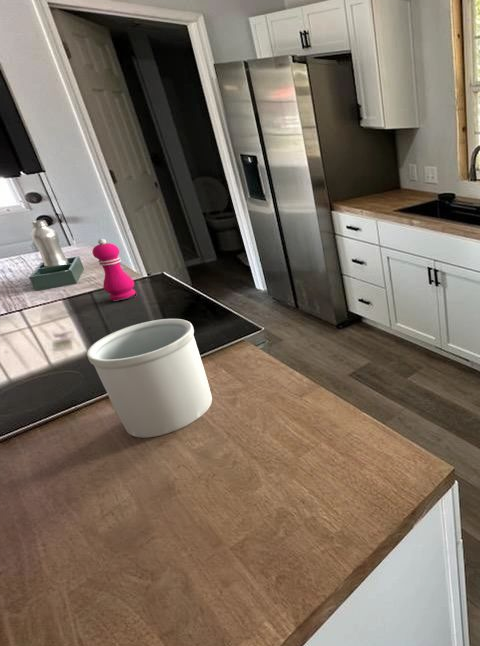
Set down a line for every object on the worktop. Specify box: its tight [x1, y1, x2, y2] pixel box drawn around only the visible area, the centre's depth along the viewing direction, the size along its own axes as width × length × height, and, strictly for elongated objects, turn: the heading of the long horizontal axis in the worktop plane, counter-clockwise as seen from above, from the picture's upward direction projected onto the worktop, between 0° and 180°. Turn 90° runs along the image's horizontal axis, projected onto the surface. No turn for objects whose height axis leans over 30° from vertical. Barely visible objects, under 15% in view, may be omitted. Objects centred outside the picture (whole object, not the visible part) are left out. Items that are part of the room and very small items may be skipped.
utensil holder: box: [86, 318, 213, 439], centre depth 79 cm, size 15×15×18 cm
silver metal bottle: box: [30, 219, 70, 268], centre depth 149 cm, size 6×7×20 cm
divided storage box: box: [28, 255, 85, 292], centre depth 149 cm, size 10×19×5 cm, turn 39°
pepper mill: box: [92, 238, 137, 301], centre depth 130 cm, size 7×7×20 cm
